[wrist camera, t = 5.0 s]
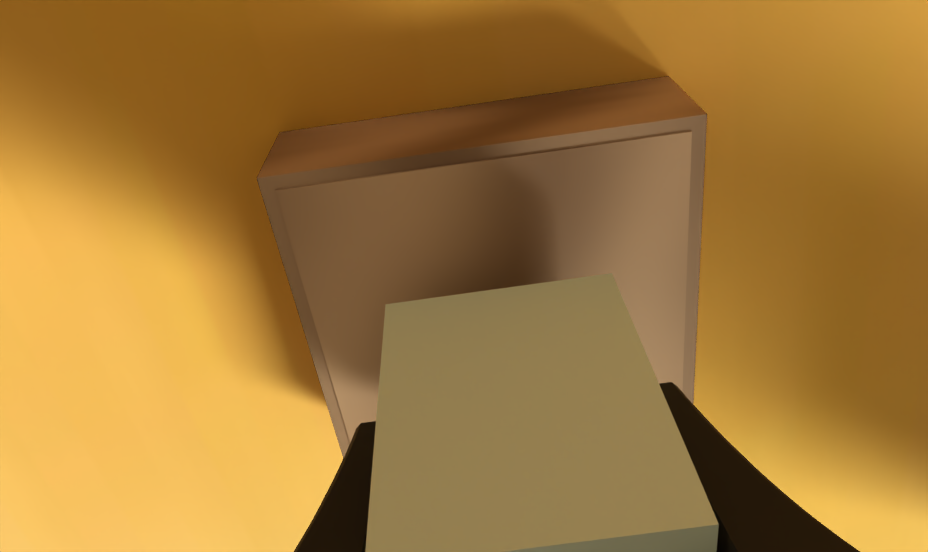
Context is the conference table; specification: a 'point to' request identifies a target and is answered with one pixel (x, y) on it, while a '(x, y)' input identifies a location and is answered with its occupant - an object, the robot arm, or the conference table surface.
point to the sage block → (528, 429)
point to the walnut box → (490, 219)
